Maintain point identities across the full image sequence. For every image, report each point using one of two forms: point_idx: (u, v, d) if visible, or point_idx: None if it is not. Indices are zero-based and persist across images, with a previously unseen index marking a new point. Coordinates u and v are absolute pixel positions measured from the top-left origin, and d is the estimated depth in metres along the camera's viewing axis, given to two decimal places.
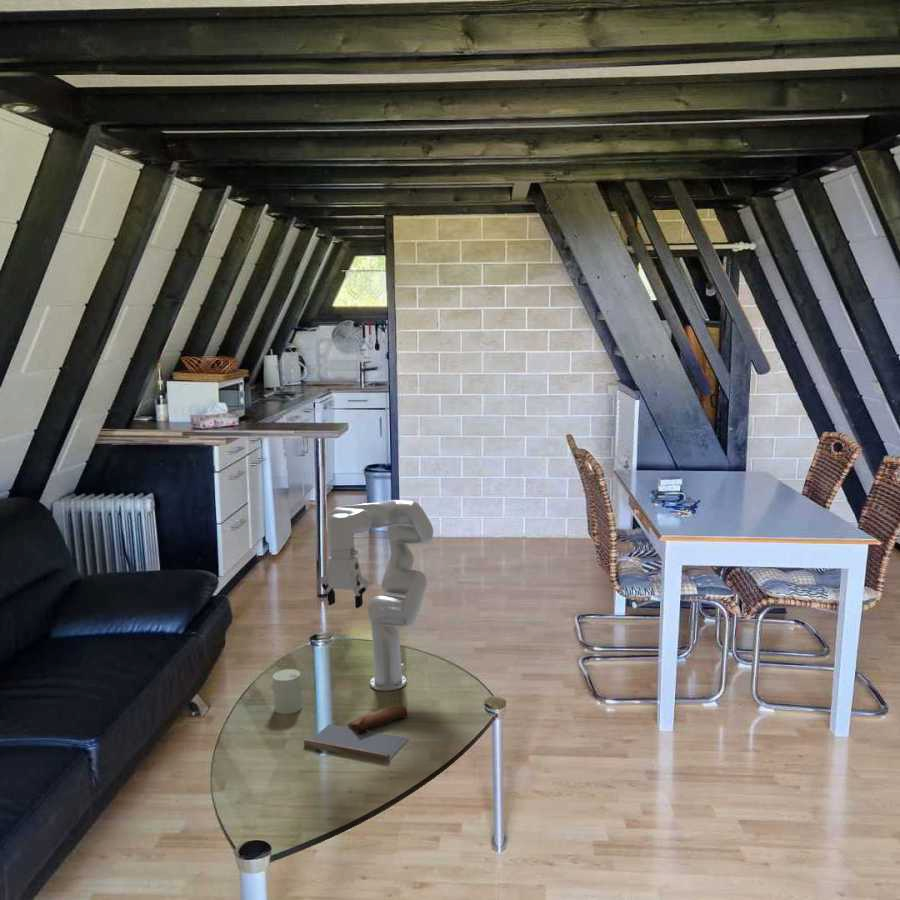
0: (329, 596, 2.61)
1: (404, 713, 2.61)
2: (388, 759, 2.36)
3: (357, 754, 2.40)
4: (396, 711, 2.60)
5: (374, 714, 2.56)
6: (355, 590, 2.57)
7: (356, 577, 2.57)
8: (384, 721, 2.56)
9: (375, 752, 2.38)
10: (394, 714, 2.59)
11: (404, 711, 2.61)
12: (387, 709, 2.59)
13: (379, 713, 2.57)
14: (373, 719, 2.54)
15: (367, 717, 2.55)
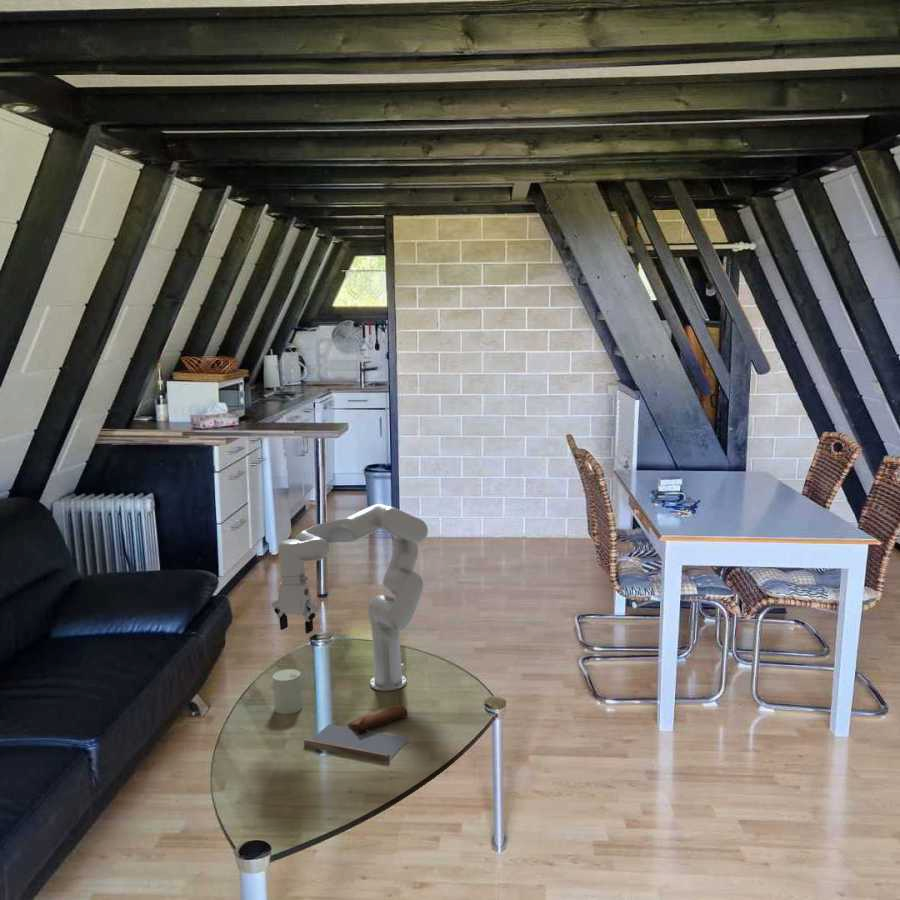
0: (281, 621, 2.64)
1: (404, 713, 2.61)
2: (388, 759, 2.36)
3: (357, 754, 2.40)
4: (396, 711, 2.60)
5: (374, 714, 2.56)
6: (305, 616, 2.60)
7: (306, 603, 2.60)
8: (384, 721, 2.56)
9: (375, 752, 2.38)
10: (394, 714, 2.59)
11: (404, 711, 2.61)
12: (387, 709, 2.59)
13: (379, 713, 2.57)
14: (373, 719, 2.54)
15: (367, 717, 2.55)
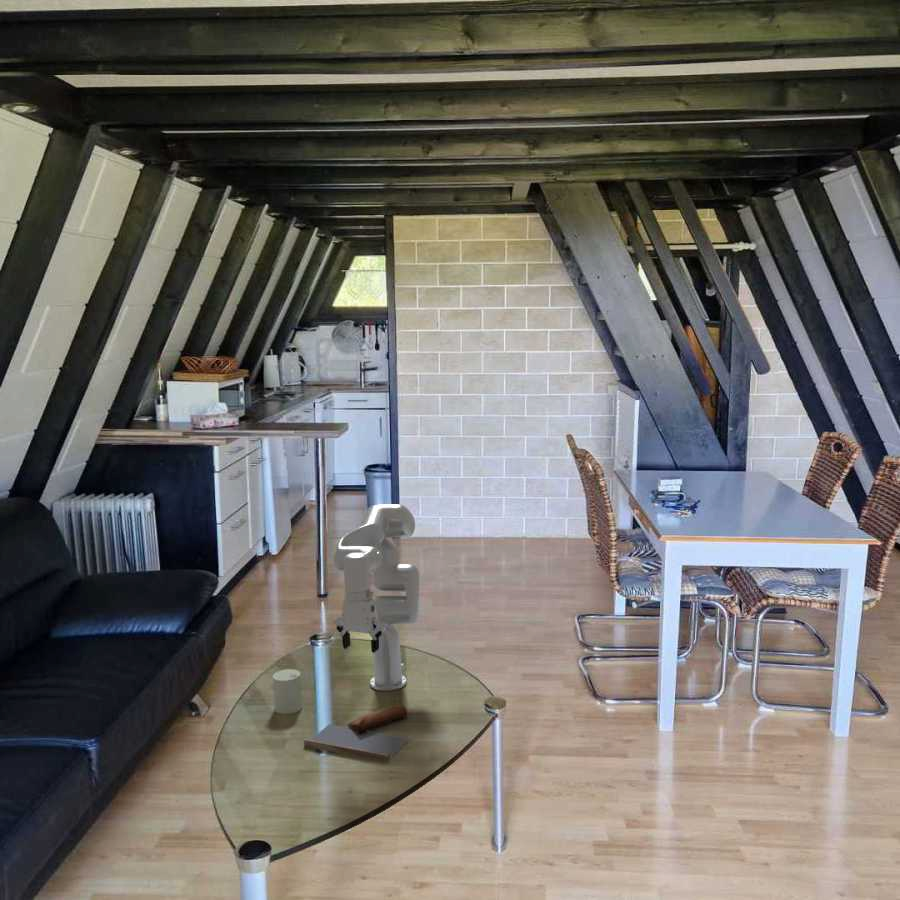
0: (344, 639, 2.49)
1: (404, 713, 2.61)
2: (388, 759, 2.36)
3: (357, 754, 2.40)
4: (396, 711, 2.60)
5: (374, 714, 2.56)
6: (371, 634, 2.45)
7: (372, 620, 2.44)
8: (384, 721, 2.56)
9: (375, 752, 2.38)
10: (394, 714, 2.59)
11: (404, 711, 2.61)
12: (387, 709, 2.59)
13: (379, 713, 2.57)
14: (373, 719, 2.54)
15: (367, 717, 2.55)
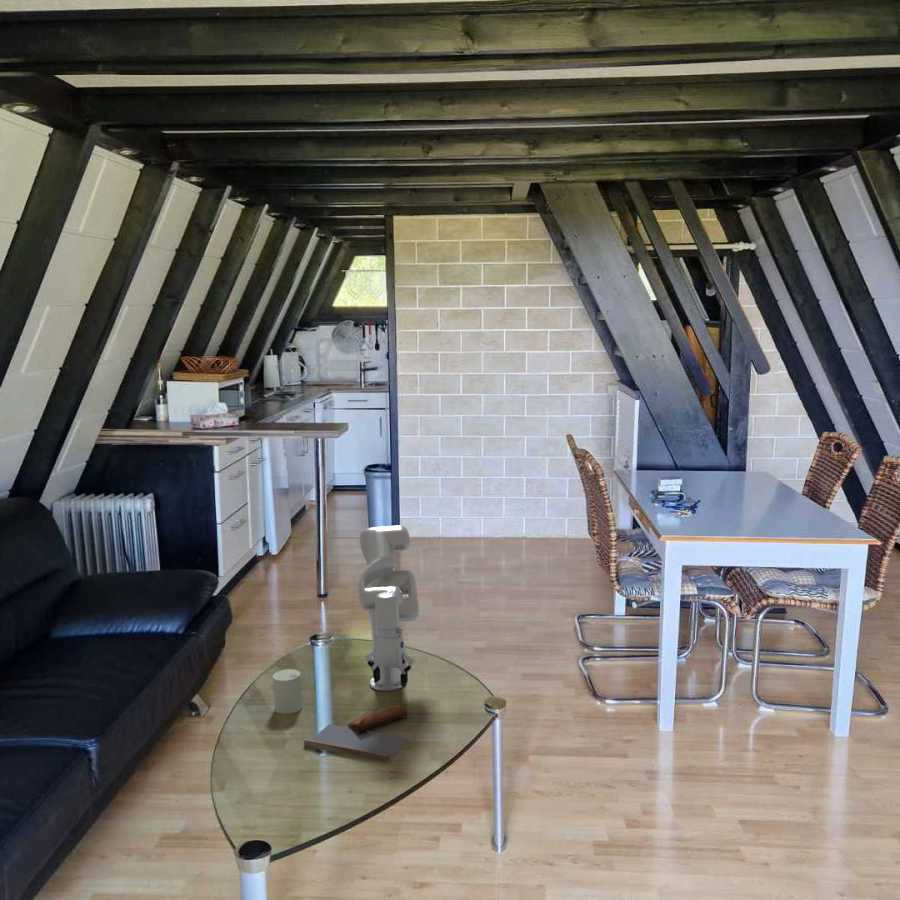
0: (375, 673, 2.67)
1: (404, 713, 2.61)
2: (388, 759, 2.36)
3: (357, 754, 2.40)
4: (396, 711, 2.60)
5: (374, 714, 2.56)
6: (400, 668, 2.63)
7: (401, 655, 2.62)
8: (384, 721, 2.56)
9: (375, 752, 2.38)
10: (394, 714, 2.59)
11: (404, 711, 2.61)
12: (387, 709, 2.60)
13: (379, 713, 2.57)
14: (373, 719, 2.54)
15: (367, 717, 2.55)
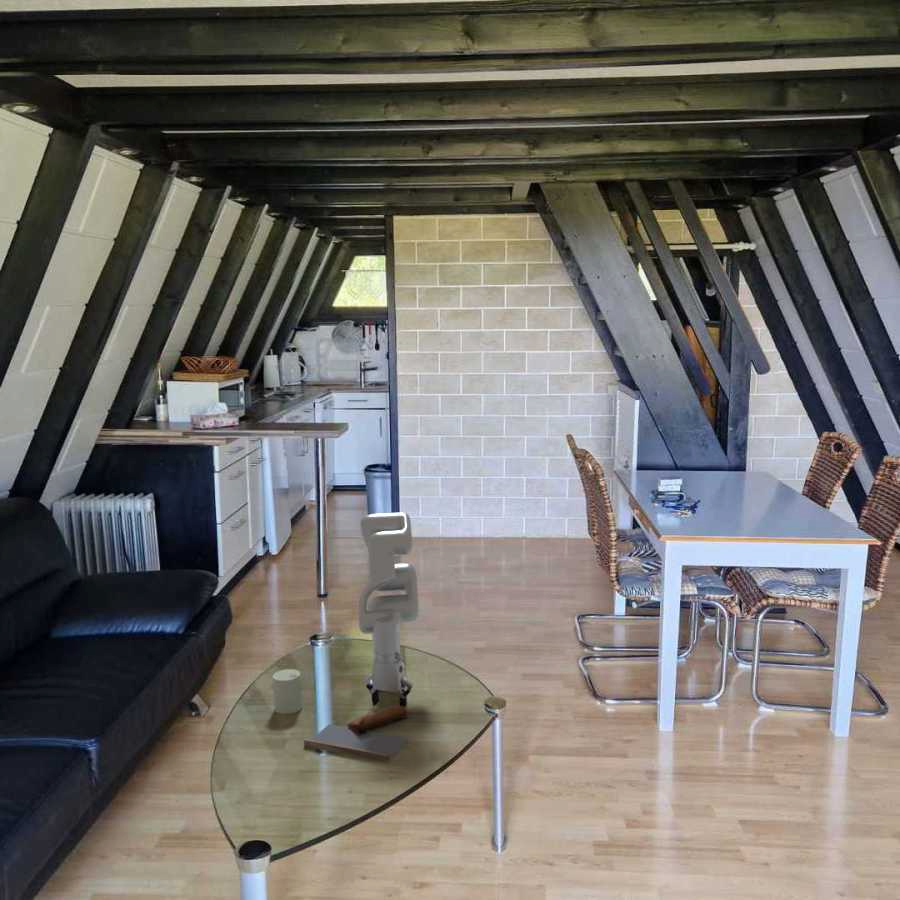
0: (373, 697, 2.67)
1: (404, 713, 2.61)
2: (388, 759, 2.36)
3: (357, 754, 2.40)
4: (396, 711, 2.59)
5: (374, 714, 2.56)
6: (399, 693, 2.63)
7: (400, 680, 2.63)
8: (384, 721, 2.56)
9: (375, 752, 2.38)
10: (394, 714, 2.59)
11: (404, 711, 2.61)
12: (387, 709, 2.59)
13: (378, 714, 2.57)
14: (372, 719, 2.54)
15: (367, 717, 2.55)
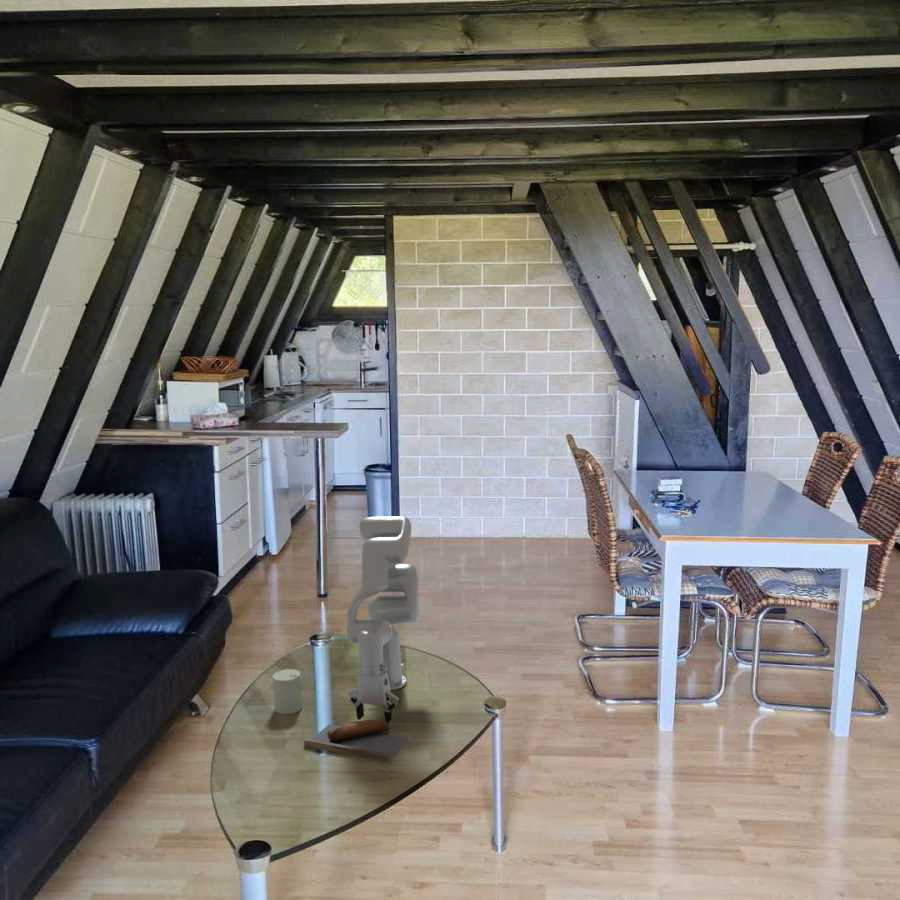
0: (358, 710, 2.58)
1: (384, 729, 2.51)
2: (388, 759, 2.36)
3: (357, 754, 2.40)
4: (375, 726, 2.50)
5: (351, 725, 2.50)
6: (384, 706, 2.54)
7: (385, 693, 2.53)
8: (360, 734, 2.48)
9: (375, 752, 2.38)
10: (372, 728, 2.50)
11: (385, 727, 2.51)
12: (367, 722, 2.51)
13: (356, 725, 2.49)
14: (347, 730, 2.48)
15: (342, 728, 2.48)
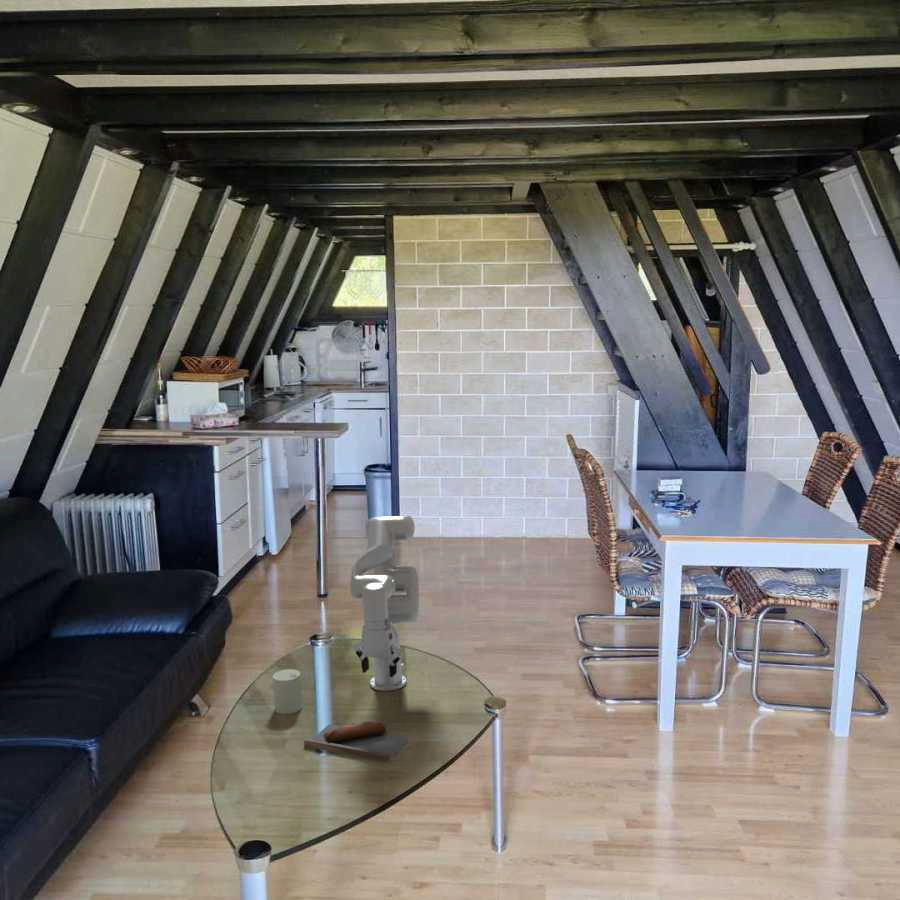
0: (363, 664, 2.61)
1: (381, 730, 2.50)
2: (388, 759, 2.36)
3: (357, 754, 2.40)
4: (372, 727, 2.49)
5: (348, 727, 2.49)
6: (389, 660, 2.57)
7: (390, 647, 2.56)
8: (357, 736, 2.47)
9: (375, 752, 2.38)
10: (369, 730, 2.49)
11: (381, 728, 2.50)
12: (364, 724, 2.50)
13: (353, 727, 2.48)
14: (344, 732, 2.47)
15: (339, 729, 2.47)
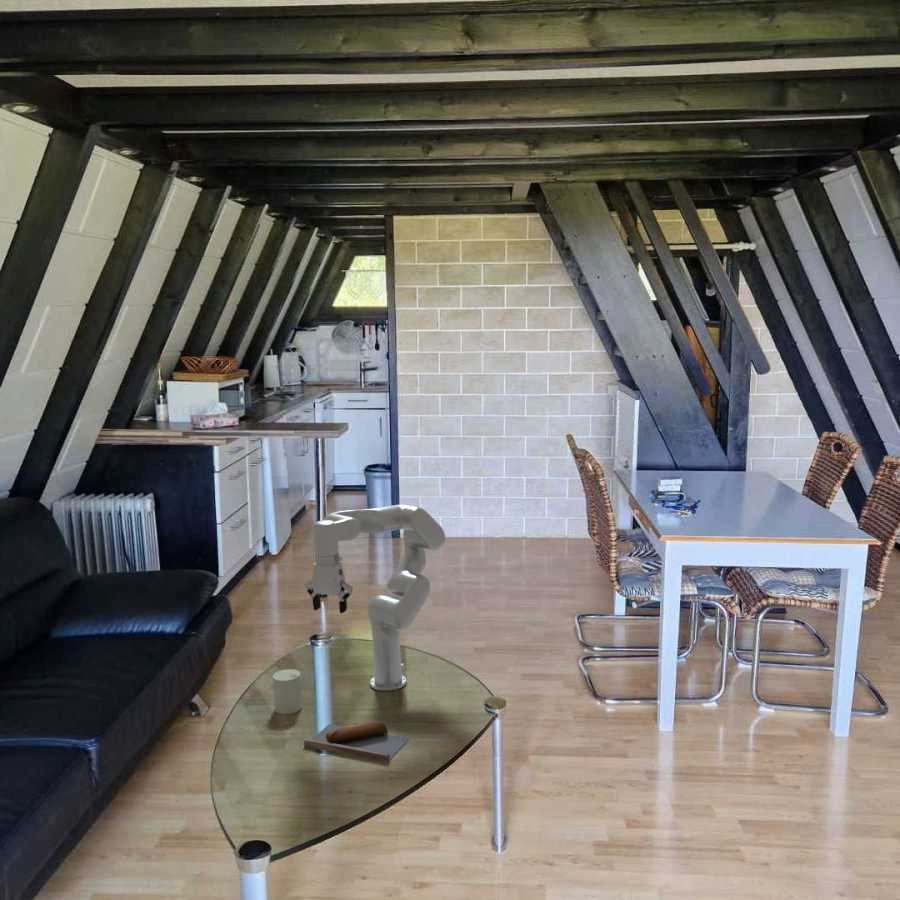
0: (314, 601, 2.66)
1: (383, 731, 2.50)
2: (388, 759, 2.36)
3: (357, 754, 2.40)
4: (374, 728, 2.49)
5: (350, 728, 2.48)
6: (339, 595, 2.62)
7: (340, 583, 2.62)
8: (359, 736, 2.47)
9: (375, 752, 2.38)
10: (371, 730, 2.48)
11: (383, 729, 2.50)
12: (365, 724, 2.50)
13: (354, 727, 2.48)
14: (346, 732, 2.46)
15: (341, 730, 2.47)
